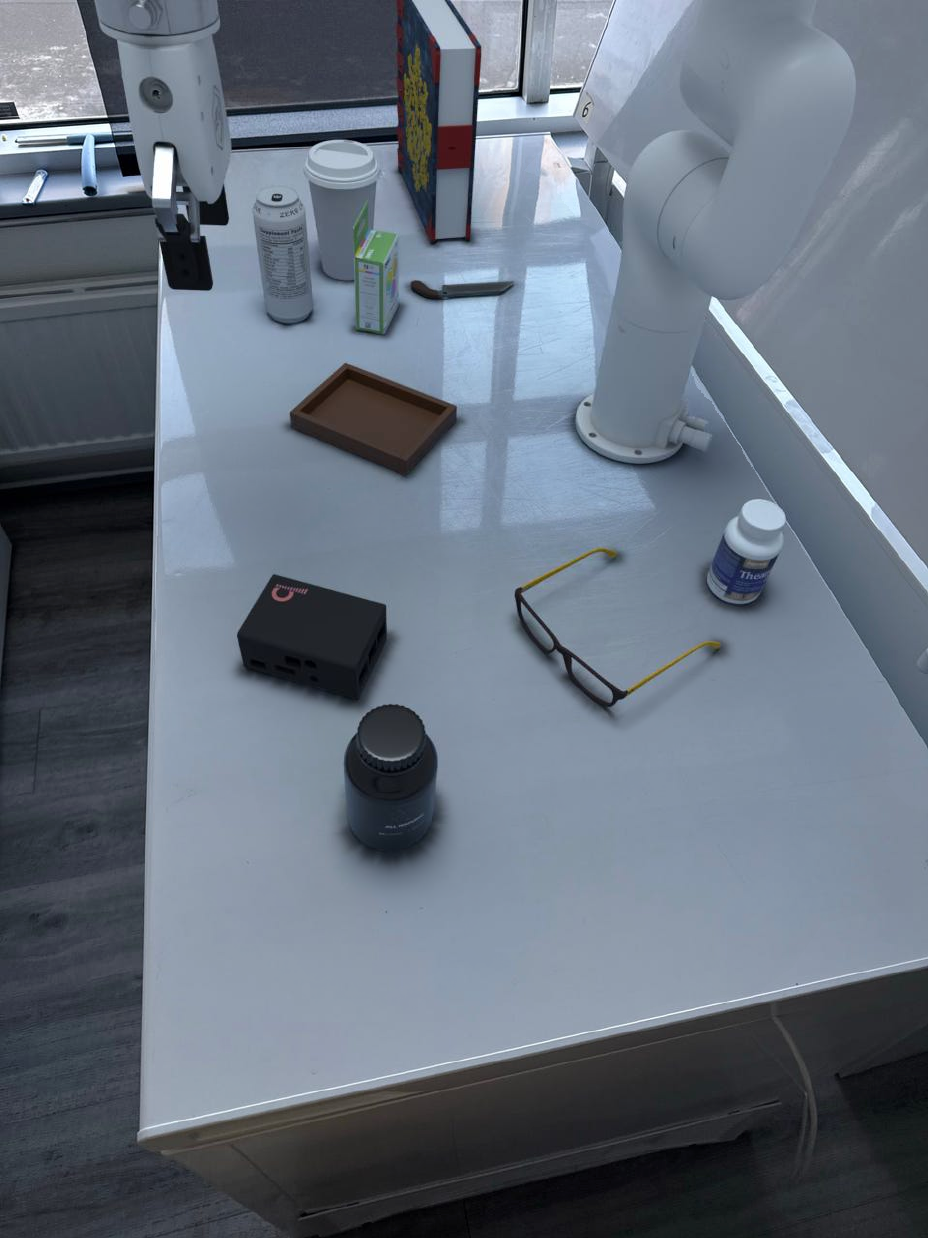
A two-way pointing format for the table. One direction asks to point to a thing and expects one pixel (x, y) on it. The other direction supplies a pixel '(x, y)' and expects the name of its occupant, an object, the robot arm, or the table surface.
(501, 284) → the knife
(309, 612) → the electronic device
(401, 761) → the supplement bottle
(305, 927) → the table surface
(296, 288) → the energy drink can
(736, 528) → the pill bottle
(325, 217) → the coffee cup
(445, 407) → the docking tray
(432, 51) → the book
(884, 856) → the table surface
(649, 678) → the eyeglasses
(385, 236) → the ink box
